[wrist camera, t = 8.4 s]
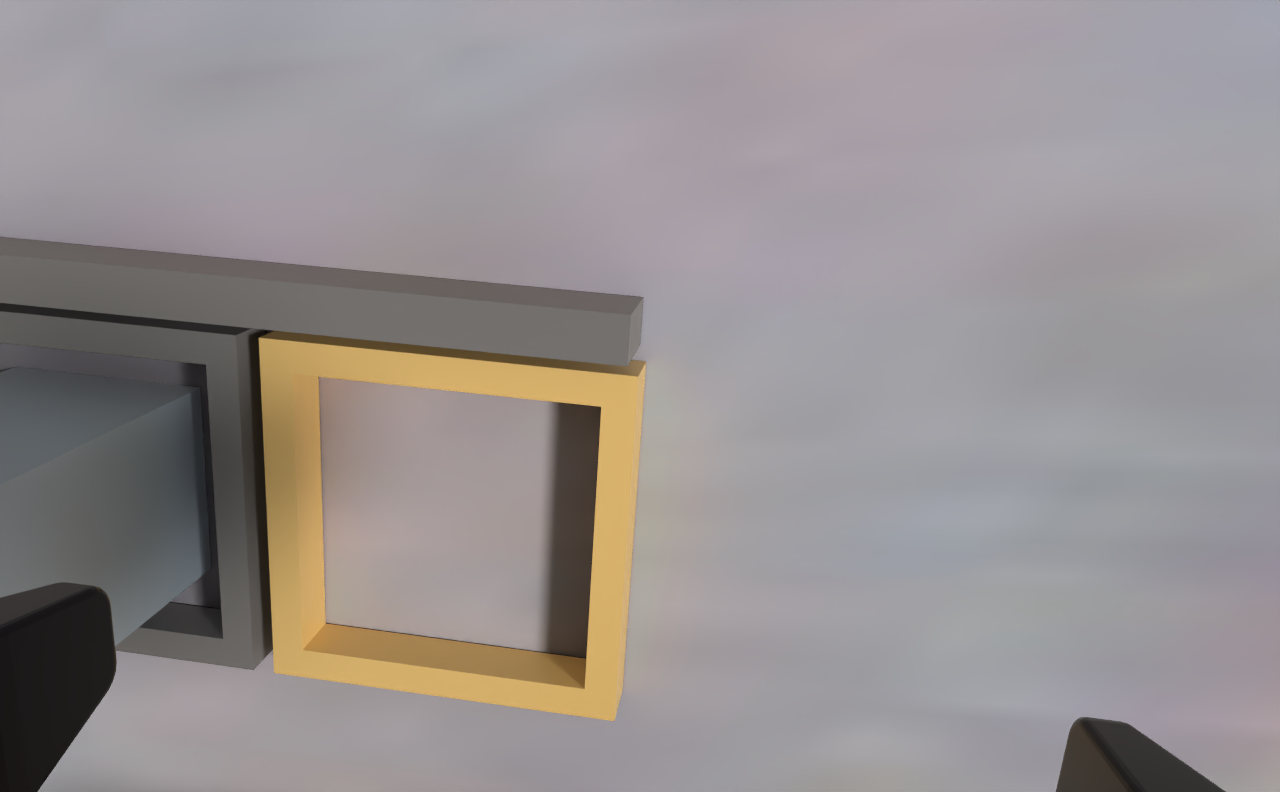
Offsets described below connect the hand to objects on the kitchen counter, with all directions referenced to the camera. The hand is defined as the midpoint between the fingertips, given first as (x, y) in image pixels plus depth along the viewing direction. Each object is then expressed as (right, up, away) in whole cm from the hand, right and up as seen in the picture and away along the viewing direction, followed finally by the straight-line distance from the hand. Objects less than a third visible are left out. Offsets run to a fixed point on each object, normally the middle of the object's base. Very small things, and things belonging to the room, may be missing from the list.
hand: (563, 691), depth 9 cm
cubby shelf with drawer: (-7, +1, +13) cm, 15 cm away
